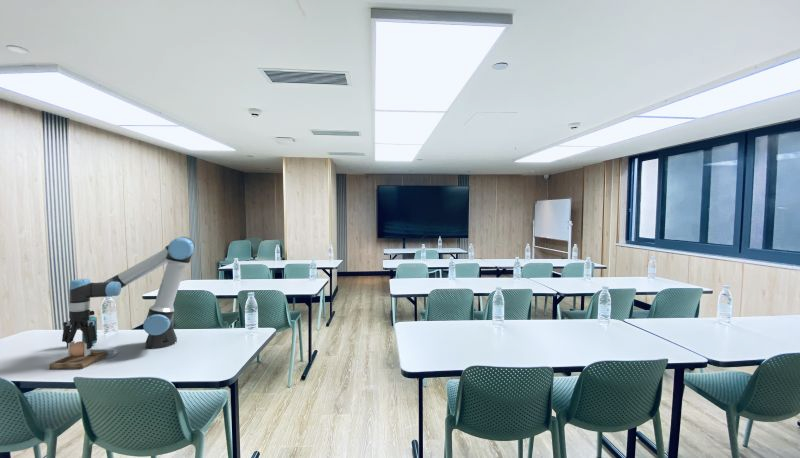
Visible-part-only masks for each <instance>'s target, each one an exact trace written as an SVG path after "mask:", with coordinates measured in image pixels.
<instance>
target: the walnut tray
mask: <svg viewBox="0 0 800 458" xmlns="http://www.w3.org/2000/svg"><path fill="white" fill-rule="evenodd" d="M105 356H107V352H90V354H89V355H87V356H84V354H83V355H81V356H74V355H71V356H68V355H67V356H65V357H62V358H59V359H57V360H56V361H52V362H51V363H49V364H48V369H49V370H83V369H85V368H87V367H90V366H91V365H93V364H96V363H97V362H99V361H101V360H103V359H106V358H105Z"/></svg>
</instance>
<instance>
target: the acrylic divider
mask: <svg viewBox="0 0 800 458" xmlns="http://www.w3.org/2000/svg"><path fill="white" fill-rule="evenodd" d="M90 352H107V356H105V358H104V359H106V358H107V359H108V358H113V357H115V356H116V355H118V354H119V352H115V348H90Z"/></svg>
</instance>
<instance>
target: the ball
mask: <svg viewBox="0 0 800 458" xmlns="http://www.w3.org/2000/svg"><path fill="white" fill-rule="evenodd" d="M84 343H86V342H83V341H82V340H80V341H77V342H74V344H73V345H72V346H71V347H70V353H71V354H72V355H74V356H81V355H83V354H84Z"/></svg>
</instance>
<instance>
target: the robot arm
mask: <svg viewBox="0 0 800 458" xmlns="http://www.w3.org/2000/svg"><path fill="white" fill-rule="evenodd" d="M195 247H196V246H195V242H194V241H193V240H192V239H191V238H190V237H187V236H180V237H176V238H174V239H172V240H171V241H170V243H169V244H167V245H166V246H164V249H161V251H159V252H156V253H155V254H153V255H150V256H149V257H148V258H146V259H144V260H142V261H139V262H138V263H136V264H134V265H133V266H131V267H128V268H127V269H125V270H124V271H122V272H119V273H118V274H116V275H115V276H112V277H110V278H108V279H106V280H104V281H102V282H100V281H99V282H91V279H89V278H78V279H73V280H71V281H70V282H69V290H68V291H69V303H68V304H69V309H68V311H69V313H68V314H69V315H68V319H69V320H66V321H64V322H63V323H62V325H63V330H62V331H63V332H62V337H61V341H62V343H65V344H66V349H67V356H71V355H72V354H71V353H70V347H71V346H72V345H73V344H74V343H76V342H75V341H74V339H75V337H76V333H77V331H78V330H80V331H81V333H83V335H84V338H85V340H86V343H84V356H87V355H89V354H90V349H93V348H92V347H93V344H92V341H94V340H96V330H95V324H96V321H90V320H89V317H90V311H91V309H90V308H91V298H103V297H104V298H107V297H110V298H111V297H117V296H120V294H121V291H122V289H123V288H124V287H126V286H129V284H131V283H133V282H135V281H137V280H139V279H141V278H142V277H144V276H146V275H148V274H150V273H151V272H154V271H155V270H157V269H159V268H160V267H162V266H165V265H166V267H165V270H164V273H163V276H162V279H161V283H160V285H159V289H158V292H157V294H156V298H155V300H154V304H153V305H150V307H149V309H148V312H147V314H146V318H145V319H144V321H143V323H142V324H143V326H142V327H143V330H144V331H145V333H147V334H148V335H147V337H146V340H145V342H144V343H145V348H146V349H160V348H166V346H167V347H170V346H172V344H173V345H175V344H176V343H177V342H178V337H177V334H176V331H175V329H174V325H175V324H174V323H175V322H174V321H175V320H174V317H175V316H174V315H175V314H174V313H175V307H174V302H175V300H176V296H177V293H178V290H179V287H180V284H181V281H182V278H183V274H184V271H185V269H186V265H189V264H190V262H191V260H192V259H191V258H192V257H193V252H194V251H195V250H196V249H195ZM88 328H89V329H88ZM175 342H176V343H175ZM174 343H175V344H174ZM169 345H170V346H169Z"/></svg>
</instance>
